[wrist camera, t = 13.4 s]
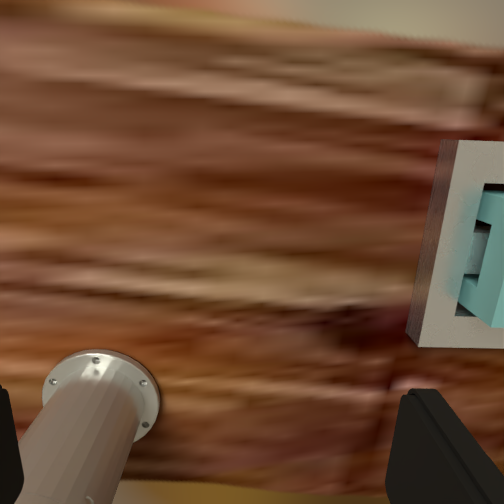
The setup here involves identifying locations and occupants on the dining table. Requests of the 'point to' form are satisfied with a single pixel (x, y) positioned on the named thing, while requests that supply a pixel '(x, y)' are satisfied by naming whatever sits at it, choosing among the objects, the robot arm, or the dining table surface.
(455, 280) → the grey rectangular frame
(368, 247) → the dining table surface
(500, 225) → the teal notched block
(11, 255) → the dining table surface
